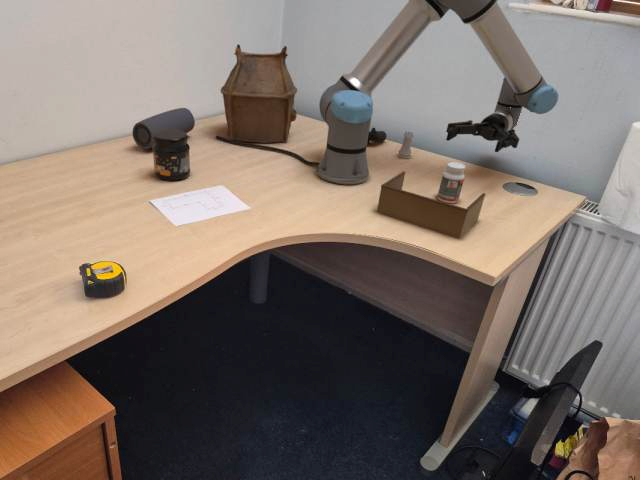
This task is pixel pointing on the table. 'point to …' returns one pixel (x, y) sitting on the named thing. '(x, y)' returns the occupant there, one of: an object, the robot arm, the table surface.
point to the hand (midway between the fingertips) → (472, 141)
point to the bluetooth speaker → (162, 125)
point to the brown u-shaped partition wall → (427, 209)
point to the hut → (259, 98)
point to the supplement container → (171, 155)
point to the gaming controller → (376, 136)
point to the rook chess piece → (406, 146)
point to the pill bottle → (451, 183)
